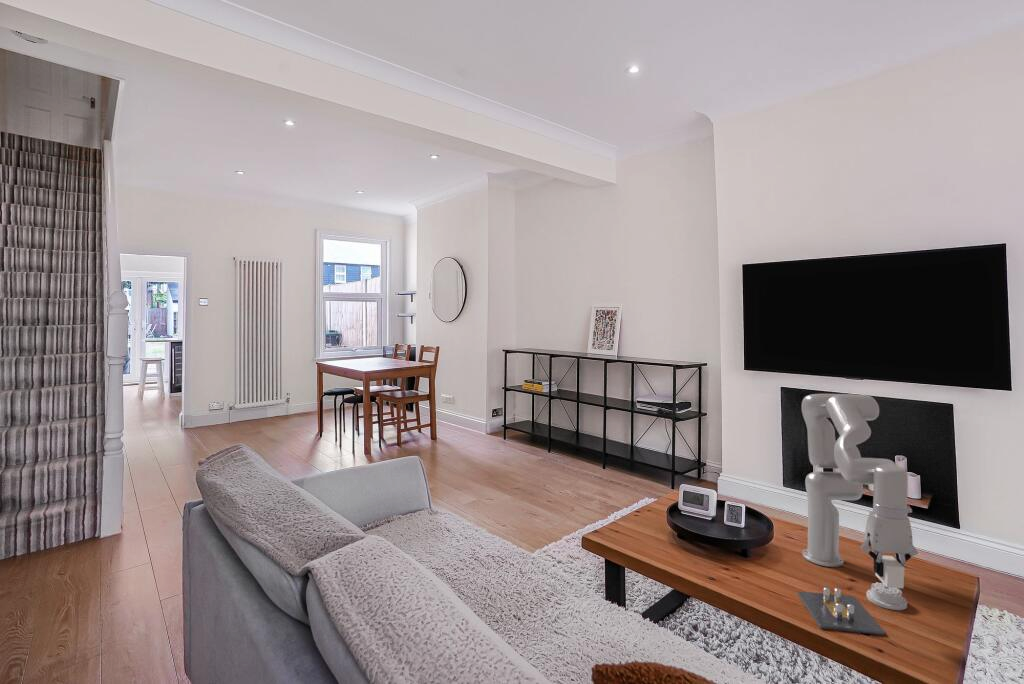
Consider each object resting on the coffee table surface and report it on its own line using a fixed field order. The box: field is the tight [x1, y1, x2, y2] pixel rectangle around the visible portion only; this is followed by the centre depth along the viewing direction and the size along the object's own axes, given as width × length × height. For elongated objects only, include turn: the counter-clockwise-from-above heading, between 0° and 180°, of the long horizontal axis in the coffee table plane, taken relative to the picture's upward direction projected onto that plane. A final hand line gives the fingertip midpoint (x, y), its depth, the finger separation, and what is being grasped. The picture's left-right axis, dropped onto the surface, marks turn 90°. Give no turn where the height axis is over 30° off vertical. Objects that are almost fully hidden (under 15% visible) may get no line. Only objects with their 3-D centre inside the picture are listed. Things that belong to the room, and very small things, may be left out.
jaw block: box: [875, 554, 905, 589], centre depth 139 cm, size 6×4×6 cm, turn 169°
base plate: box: [797, 586, 886, 636], centre depth 147 cm, size 18×16×5 cm
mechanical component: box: [866, 581, 908, 611], centre depth 153 cm, size 10×4×10 cm
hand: (888, 574), depth 140 cm, fingers closed on jaw block, 3 cm apart
